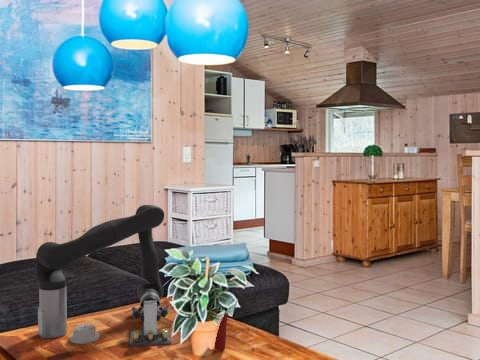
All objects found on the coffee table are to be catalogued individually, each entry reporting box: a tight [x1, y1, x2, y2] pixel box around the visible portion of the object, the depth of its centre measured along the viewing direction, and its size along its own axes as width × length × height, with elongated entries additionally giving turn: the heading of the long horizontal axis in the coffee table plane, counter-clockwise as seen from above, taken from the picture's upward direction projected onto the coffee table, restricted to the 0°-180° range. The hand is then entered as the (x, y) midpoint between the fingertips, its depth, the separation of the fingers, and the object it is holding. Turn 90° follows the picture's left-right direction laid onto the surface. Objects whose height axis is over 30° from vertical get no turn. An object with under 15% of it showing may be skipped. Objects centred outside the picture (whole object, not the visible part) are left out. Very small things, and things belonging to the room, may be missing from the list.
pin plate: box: [129, 328, 172, 347], centre depth 178 cm, size 14×12×4 cm
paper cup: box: [214, 312, 228, 352], centre depth 170 cm, size 8×8×14 cm
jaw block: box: [143, 300, 158, 336], centre depth 178 cm, size 4×4×11 cm
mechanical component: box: [69, 323, 100, 345], centre depth 178 cm, size 10×4×10 cm
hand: (150, 318), depth 175 cm, fingers closed on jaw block, 4 cm apart
